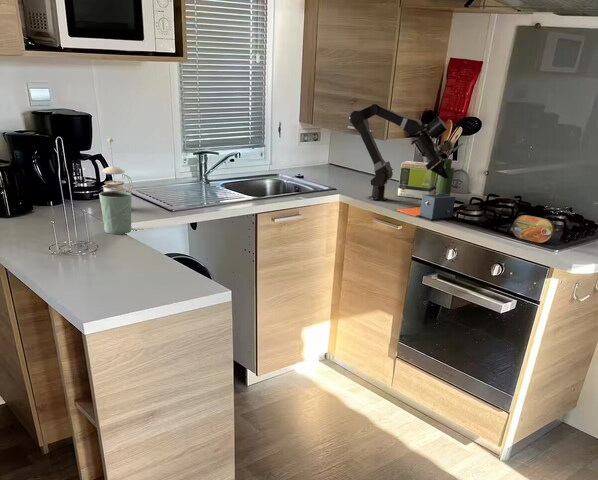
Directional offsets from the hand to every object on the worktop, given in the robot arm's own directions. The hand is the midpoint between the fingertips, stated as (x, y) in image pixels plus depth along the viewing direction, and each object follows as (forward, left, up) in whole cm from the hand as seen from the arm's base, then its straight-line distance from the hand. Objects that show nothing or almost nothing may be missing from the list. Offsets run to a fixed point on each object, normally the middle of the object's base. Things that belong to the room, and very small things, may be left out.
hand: (448, 177), depth 255 cm
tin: (+53, +10, -13) cm, 55 cm away
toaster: (+17, -12, -13) cm, 25 cm away
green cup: (+35, -135, -13) cm, 140 cm away
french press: (+3, -136, -13) cm, 137 cm away
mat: (+8, -15, -13) cm, 21 cm away
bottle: (-1, -1, -7) cm, 7 cm away
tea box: (-24, -3, -13) cm, 28 cm away
